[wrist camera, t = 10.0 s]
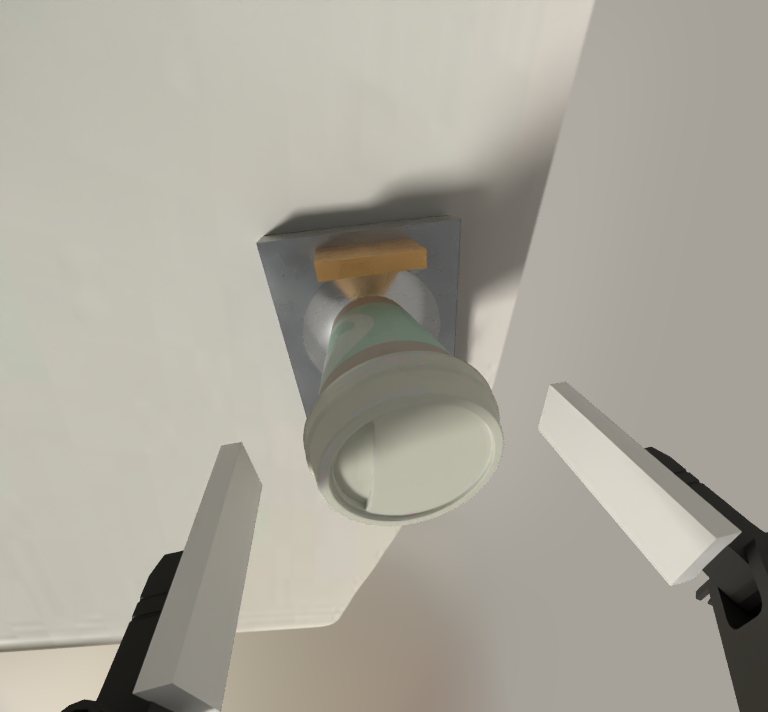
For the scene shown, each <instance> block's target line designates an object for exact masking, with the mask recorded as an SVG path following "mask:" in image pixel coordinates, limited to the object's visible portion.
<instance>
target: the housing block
mask: <svg viewBox="0 0 768 712" xmlns="http://www.w3.org/2000/svg"><path fill="white" fill-rule="evenodd" d="M460 223H461V219H458V218H455V217H451V216H448V215H444V216H435V217H426V218H417V219H408V220H400V221H391V222H382V223H373V224H364V225H356V226H347V227H338V228H329V229H320V230H312V231H303V232H294V233H285V234H276V235H268V236H263V237H262V238H261V239H260V240H259V241H258V242H257V247H258V250H259V254H260V257H261V261H262V264H263V268H264V271H265V275H266V278H267V282H268V285H269V289H270V292H271V295H272V299H273V302H274V306H275V309H276V313H277V316H278V320H279V323H280V327H281V330H282V334H283V337H284V341H285V344H286V347H287V351H288V354H289V358H290V361H291V365H292V368H293V372H294V375H295V379H296V382H297V386H298V389H299V392H300V396H301V399H302V403H303V406H304V410H305V413H306V417H308V414H309V412H310V410H311V408H312V406H313V404H314V403H315V401H316V400H317V398H318V393H319V388H320V384H321V379H322V374H323V369H324V364H325V359H326V354H327V349H328V344H329V339H330V335H331V330H332V326H333V323H334V320H335V318H336V316H337V315H338V313H339V312H340V311H341V310H342V309H343V308H344V307H345V306H346V305H347V304H349V303H350V302H352V301H354V300H356V299H359V298H362V297H366V296H381V297H386V298H389V299H391V300H393V301H395V302H396V303H398V304H399V305H400V306H401V307H402V308H403V309H404V310H405V311H407V312H408V313H409V314H410V315H411V316H412V317H413V318H414V319H415V320H416V321H417V322H418V323H419V324H420V325H421V326H422V327H423V328H424V329H425V330H426V331H428V332H429V333H430V334H431V335H432V336H433V337H434V338H435V339H436V340H437V341H438V342H439V343H440V344H441V345H442V346H443V347H444V348H445V349H446V350H447V351H448V352H449V353H450V354H452V355H453V356H454V349H455V328H456V307H457V286H458V265H459V244H460Z"/></svg>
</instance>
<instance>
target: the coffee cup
mask: <svg viewBox="0 0 768 712" xmlns="http://www.w3.org/2000/svg"><path fill="white" fill-rule="evenodd" d="M303 441H304V449H305V453H306V460H307V464H308V467H309V469H310V471H311V474H312V475H313V477H314V478H315V480H316V482H317V485H318V488H319V491H320V493H321V495H322V498H323V499H324V500H325V502H326V503H327V504H328V505H329V506H330V507H331V508H332V509H333V510H334V511H335V512H337V513H338V514H340V515H342V516H344V517H346V518H348V519H350V520H352V521H355V522H358V523H363V524H367V525H374V526H400V525H407V524H413V523H418V522H422V521H425V520H429V519H432V518H435V517H437V516H440V515H442V514H444V513H447V512H449V511H451V510H453V509H455V508H456V507H458V506H460V505H461V504H463V503H464V502H466V501H467V500H469V499H470V498H471V497H473V496H474V495H475V494H476V493H477V492H478V491H480V490H481V489H482V488H483V487H484V486H485V485H486V483H487V482H488V481H489V480H490V478H491V477H492V476H493V474H494V473H495V471H496V469H497V467H498V465H499V463H500V461H501V457H502V454H503V448H504V436H503V432H502V428H501V425H500V418H499V409H498V405H497V402H496V400H495V398H494V395H493V394H492V391H491V389H490V386H489V385H488V383H487V381H486V380H485V378H484V377H483V376H482V375H481V374H480V373H479V372H478V371H477V370H476V369H475V368H474V367H472V366H471V365H469V364H468V363H466V362H464V361H463V360H461V359H458V358H456V357H454V356H453V355H452V354H450V353H449V352H448V351H447V350H446V349H445V348H444V347H443V346H442V345H441V344H440V343H439V342H438V341H437V340H436V339H435V338H434V337H433V336H432V335H431V334H430V333H429V332H428V331H426V330H425V329H424V328H423V327H422V326H421V325H420V324H419V323H418V322H417V321H416V320H415V319H414V318H413V317H412V316H411V315H410V314H409V313H408V312H407V311H405V310H404V309H403V308H402V307H401V306H400V305H399V304H398V303H396V302H395V301H393V300H391V299H389V298H386V297H381V296H366V297H362V298H359V299H356V300H354V301H352V302H350V303H349V304H347V305H346V306H345V307H344V308H343V309H342V310H341V311H340V312H339V313H338V315H337V316H336V318H335V320H334V323H333V326H332V330H331V335H330V339H329V344H328V349H327V354H326V359H325V364H324V369H323V374H322V379H321V384H320V388H319V393H318V398H317V400H316V401H315V403H314V404H313V406H312V408H311V410H310V412H309V414H308V417H307V419H306V423H305V427H304V435H303Z"/></svg>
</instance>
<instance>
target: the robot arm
mask: <svg viewBox="0 0 768 712" xmlns="http://www.w3.org/2000/svg"><path fill="white" fill-rule="evenodd" d="M538 430H539V431H540V432H541V434H542V435H543V436H544V437H545V438H546V439H547V441H548V442H549V443H550V444H551V445H552V446H553V448H554V449H555V450H556V451H557V452H558V453H559V455H560V456H561V457H562V458H563V459H564V461H565V462H566V463H567V464H568V465H569V467H570V468H571V469H572V470H573V471H574V473H576V475H577V476H578V477H579V478H580V480H581V481H582V482H583V483H584V484H585V486H586V487H587V488H588V489H589V490H590V491H591V493H592V494H593V495H594V496H595V497H596V499H597V500H598V501H599V502H600V503H601V504H602V506H603V507H604V508H605V509H606V510H607V512H608V513H609V514H610V515H611V516H612V517H613V518H614V520H615V521H616V522H617V523H618V524H619V525H620V527H621V528H622V529H623V530H624V531H625V533H626V534H627V535H628V536H629V538H630V539H631V540H632V541H633V542H634V543H635V544H636V545H637V547H638V548H639V549H640V550H641V552H642V553H643V554H644V555H645V556H646V558H647V559H648V560H649V561H650V562H651V563H652V565H653V566H654V567H655V568H656V569H657V571H658V572H659V573H660V574H661V575H662V576H663V578H664V579H665V580H666V581H667V582H668V584H670V586H672V585H676V584H679V583H683V582H686V581H690V580H692V579H693V578H695V577H696V576H697V575H698V574H699V573H700V572H701V571H702V570H703V571H704V572H705V573H706V575H707V576H709V578H710V579H709V580H708V581H706V582H705V583H704V584H703V585H702V586H701V587H700V588H699V589H698V590H697V591H696V599H698V600H702V599H703V598H704V597H706V595H708V594H709V593H710V597H711V598H710V600H709V601H708V604H710V605H712V606H713V609H714V613H715V617H716V620H717V624H718V628H719V632H720V636H721V640H722V644H723V648H724V651H725V656H726V660H727V663H728V667H729V671H730V675H731V679H732V683H733V687H734V691H735V695H736V699H737V702H738V706H739V710H740V712H768V532H767V533H765V532H763V531H762V530H760V529H759V528H758V527H756V526H755V525H753V524H752V523H751V522H749V521H748V520H747V519H746V518H745V517H744V516H742V515H741V514H740V513H739V512H737V511H736V510H735V509H734V508H732V507H731V506H730V505H729V504H728V503H726V502H725V501H724V500H723V499H721V498H720V497H719V496H718V495H716V494H715V493H714V492H713V491H711V490H710V489H709V488H708V487H706V486H705V485H704V484H703V483H702V484H701V483H700V482H699V480H698V479H697V478H696V477H694V476H693V475H692V474H691V473H688V472H686V469H684V468H683V467H682V466H681V465H680V464H678V463H677V462H676V461H675V460H673V459H672V458H671V457H670V456H668V455H666V454H664V453H662V452H660V451H658V450H657V449H655V448H653V447H648V448H643V447H642V446H641V445H640V444H638V443H637V442H636V441H635V440H634V439H633V438H631V437H630V436H629V435H628V434H626V432H624V431H623V430H622V429H621V428H620V427H618V426H617V425H616V424H615V423H614V422H613V421H611V420H610V419H609V418H608V417H607V416H606V415H604V414H603V413H602V412H601V411H600V410H599V409H597V408H596V407H595V406H594V405H593V404H592V403H590V402H589V401H588V400H587V399H586V398H585V397H583V396H582V395H581V394H580V393H579V392H577V391H576V390H575V389H574V388H572V386H570V385H569V384H568V383H567V382H561V383H556V384H551V385H550V387H549V390H548V393H547V397H546V401H545V405H544V409H543V412H542V416H541V420H540V423H539V427H538ZM261 490H262V484H261V482H260V480H259V477H258V475H257V473H256V471H255V469H254V467H253V465H252V463H251V461H250V459H249V456H248V454H247V452H246V450H245V448H244V446H243V444H242V442H239V443H234V444H228V445H223V446H221V448H220V451H219V454H218V456H217V459H216V462H215V465H214V468H213V470H212V473H211V476H210V479H209V482H208V484H207V487H206V490H205V493H204V496H203V498H202V501H201V504H200V507H199V509H198V512H197V515H196V518H195V521H194V523H193V526H192V529H191V532H190V535H189V537H188V540H187V543H186V546H185V548H184V551H180V552H175V553H171V554H166V555H164V556H163V558H162V559H161V560H160V562H159V563H158V564H157V566H156V567H155V569H154V570H153V571H152V573H151V574H150V575H149V578H148V580H147V582H146V585H145V587H144V589H143V592H142V594H141V597H140V602H138V604H137V606H136V608H135V611H134V613H133V616H132V621H131V622H130V623H129V625H128V627H127V630H126V632H125V634H124V637H123V639H122V642H121V644H120V646H119V649H118V651H117V653H116V656H115V658H114V661H113V663H112V665H111V668H110V670H109V672H108V675H107V677H106V680H105V682H104V684H103V687H102V689H101V691H100V694H99V696H98V698H97V700H96V701H91V700H82V701H79V702H77V703H74V704H71V705H69V706H68V707H66V708H65V709H64V710H62V711H61V712H221V708H222V703H223V697H224V692H225V686H226V681H227V676H228V670H229V665H230V659H231V654H232V648H233V643H234V637H235V632H236V626H237V621H238V615H239V610H240V604H241V599H242V594H243V588H244V583H245V577H246V572H247V566H248V561H249V555H250V550H251V544H252V539H253V533H254V528H255V522H256V517H257V512H258V506H259V501H260V495H261Z"/></svg>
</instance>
